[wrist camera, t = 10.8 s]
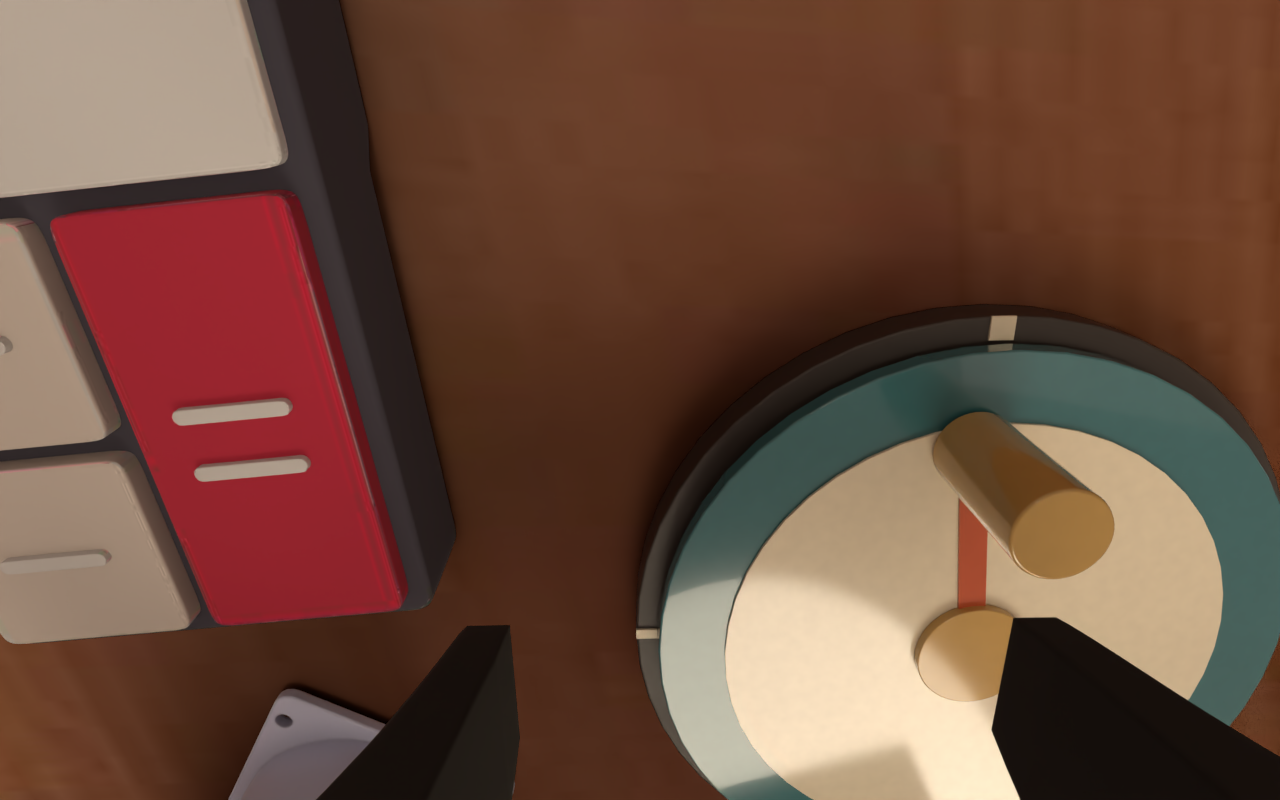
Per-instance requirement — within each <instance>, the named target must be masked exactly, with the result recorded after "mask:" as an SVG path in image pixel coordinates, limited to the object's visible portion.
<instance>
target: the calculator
mask: <svg viewBox="0 0 1280 800" xmlns="http://www.w3.org/2000/svg"><path fill="white" fill-rule="evenodd" d="M455 538H456V530H455V525H454V521H453V516H452V512H451V508H450V504H449V500H448V495H447V491H446V487H445V483H444V479H443V475H442V470H441V466H440V462H439V458H438V454H437V449H436V445H435V441H434V437H433V433H432V429H431V424H430V420H429V416H428V412H427V408H426V403H425V399H424V395H423V391H422V387H421V383H420V378H419V374H418V370H417V366H416V362H415V357H414V353H413V349H412V345H411V341H410V337H409V332H408V328H407V324H406V320H405V316H404V311H403V307H402V303H401V299H400V295H399V290H398V286H397V282H396V278H395V274H394V270H393V265H392V261H391V257H390V253H389V249H388V244H387V240H386V236H385V232H384V228H383V224H382V219H381V215H380V211H379V207H378V203H377V198H376V194H375V190H374V186H373V182H372V177H371V173H370V163H369V137H368V124H367V119H366V115H365V110H364V106H363V101H362V97H361V93H360V89H359V84H358V80H357V76H356V71H355V67H354V63H353V59H352V54H351V50H350V46H349V41H348V37H347V33H346V29H345V24H344V20H343V16H342V12H341V7H340V3H339V0H0V633H1V635H2V636H3V637H4V639H6V640H7V641H8V642H11V643H16V644H26V643H45V642H57V641H68V640H80V639H91V638H102V637H113V636H125V635H136V634H147V633H159V632H170V631H181V630H193V629H204V628H215V627H227V626H238V625H249V624H261V623H272V622H283V621H295V620H306V619H317V618H329V617H340V616H351V615H363V614H374V613H385V612H397V611H408V610H416V609H421V608H424V607H426V606H427V605H429V604H430V602H431V601H432V599H433V596H434V594H435V591H436V589H437V586H438V584H439V581H440V579H441V576H442V573H443V571H444V568H445V566H446V563H447V560H448V558H449V555H450V553H451V550H452V547H453V544H454V541H455Z"/></svg>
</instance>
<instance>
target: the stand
mask: <svg viewBox="0 0 1280 800" xmlns="http://www.w3.org/2000/svg"><path fill="white" fill-rule="evenodd" d="M998 344H1029V345H1048V346H1059V347H1064V348H1070V349H1075V350H1081V351H1086V352H1091V353H1097V354H1101V355H1104V356H1107V357H1110V358H1113V359H1116V360H1119V361H1122V362H1125V363H1128V364H1131V365H1133V366H1136V367H1139V368H1142V369H1144V370H1146V371H1148V372H1150V373H1152V374H1154V375H1156V376H1158V377H1159V378H1161V379H1163V380H1165V381H1167V382H1169V383H1171V384H1173V385H1175V386H1177V387H1179V388H1181V389H1183V390H1185V391H1187V392H1189V393H1190V394H1192V395H1193V396H1194V397H1196V398H1197V399H1198V400H1200V401H1201V402H1202V403H1204V404H1205V405H1206V406H1208V407H1209V408H1210V409H1212V410H1213V411H1215V412H1216V413H1217V414H1219V415H1220V416H1221V417H1222V418H1223V419H1224V420H1225V421H1226V422H1227V423H1228V424H1229V425H1230V426H1231V427H1232V428H1233V429H1234V430H1235V431H1236V432H1237V433H1238V435H1239V436H1240V437H1241V438H1242V439H1243V440H1244V441H1245V442H1246V443H1247V444H1248V446H1249V447H1250V449H1251V450H1252V452H1253V453H1254V455H1255V456H1256V458H1257V459H1258V461H1259V462H1260V464H1261V465H1262V467H1263V468H1264V470H1265V471H1266V473H1267V474H1268V477H1269V479H1270V481H1271V484H1272V486H1273V488H1274V491H1275V493H1276V495H1277V498H1278V500H1279V502H1280V493H1279V489H1278V485H1277V480H1276V477H1275V475H1274V472H1273V470H1272V468H1271V465H1270V463H1269V461H1268V459H1267V456H1266V454H1265V452H1264V449H1263V447H1262V445H1261V443H1260V441H1259V440H1258V438H1257V437H1256V435H1255V434H1254V432H1253V431H1252V430H1251V428H1250V427H1249V425H1248V424H1247V422H1246V421H1245V419H1244V418H1243V416H1242V415H1241V413H1240V412H1239V410H1238V409H1237V408H1236V407H1235V406H1234V405H1233V404H1232V403H1231V402H1230V401H1229V400H1228V399H1227V398H1226V397H1225V396H1224V395H1223V394H1222V393H1221V392H1220V391H1219V390H1218V389H1217V388H1216V387H1215V386H1214V385H1213V384H1212V383H1211V382H1210V381H1209V380H1207V379H1206V378H1204V377H1203V376H1202V375H1200V374H1199V373H1198V372H1196V371H1195V370H1193V369H1192V368H1191V367H1189V366H1188V365H1187V364H1185V363H1184V362H1183V361H1181V360H1180V359H1178V358H1176V357H1174V356H1173V355H1171V354H1169V353H1167V352H1165V351H1163V350H1161V349H1159V348H1157V347H1155V346H1153V345H1151V344H1149V343H1147V342H1145V341H1143V340H1141V339H1139V338H1137V337H1134V336H1132V335H1130V334H1127V333H1125V332H1123V331H1120V330H1118V329H1116V328H1114V327H1111V326H1107V325H1104V324H1101V323H1098V322H1095V321H1092V320H1089V319H1086V318H1083V317H1080V316H1077V315H1074V314H1070V313H1064V312H1058V311H1053V310H1047V309H1042V308H1036V307H1030V306H1012V305H989V304H980V305H968V306H956V307H945V308H935V309H930V310H925V311H921V312H916V313H911V314H906V315H902V316H897V317H892V318H888V319H885V320H882V321H880V322H877V323H874V324H871V325H868V326H865V327H862V328H859V329H856V330H853V331H850V332H847V333H844V334H842V335H840V336H838V337H836V338H834V339H832V340H830V341H828V342H826V343H824V344H822V345H819V346H817V347H815V348H813V349H811V350H809V351H807V352H805V353H803V354H801V355H800V356H798V357H796V358H795V359H793V360H792V361H790V362H789V363H787V364H785V365H784V366H782V367H781V368H779V369H778V370H776V371H774V372H773V373H771V374H770V375H768V376H767V377H765V378H764V379H762V380H761V381H760V382H759V383H758V384H756V385H755V386H754V387H753V388H751V389H750V390H749V391H748V392H747V393H745V394H744V395H743V396H742V397H740V398H739V399H738V400H737V401H736V402H734V403H733V404H732V405H731V406H730V407H729V408H728V409H727V410H726V411H725V412H724V413H723V414H722V415H721V416H720V417H719V418H718V419H717V420H716V421H715V422H714V423H713V425H712V426H711V427H710V428H709V429H708V430H707V431H706V432H705V433H704V434H703V435H702V436H701V437H700V439H699V440H698V441H697V443H696V444H695V445H694V447H693V448H692V450H691V451H690V452H689V454H688V455H687V456H686V458H685V459H684V461H683V462H682V463H681V465H680V466H679V467H678V469H677V470H676V472H675V474H674V476H673V478H672V479H671V481H670V483H669V485H668V487H667V489H666V491H665V492H664V494H663V496H662V498H661V500H660V502H659V504H658V506H657V508H656V511H655V514H654V517H653V519H652V522H651V525H650V528H649V530H648V533H647V536H646V538H645V542H644V547H643V552H642V557H641V562H640V567H639V571H638V582H637V602H636V639H637V644H638V653H639V662H640V667H641V671H642V675H643V678H644V682H645V686H646V689H647V693H648V696H649V699H650V701H651V703H652V705H653V707H654V710H655V712H656V714H657V716H658V718H659V721H660V723H661V725H662V727H663V728H664V730H665V731H666V733H667V734H668V736H669V737H670V739H671V740H672V742H673V744H674V745H675V747H676V748H677V750H678V751H679V753H680V754H681V755H682V756H683V757H684V758H685V760H686V761H687V762H688V763H689V764H690V765H691V766H692V767H693V769H694V770H695V771H696V772H697V773H698V774H699V775H700V776H701V777H702V778H703V779H704V780H705V781H706V782H708V783H709V784H710V785H711V786H712V787H713V788H715V787H714V786H713V785H712V784H711V782H710V781H709V780H708V779H707V778H706V777H705V776H704V774H703V773H702V772H701V771H700V770H699V769H698V767H697V766H696V764H695V763H694V761H693V760H692V758H691V756H690V755H689V753H688V752H687V750H686V748H685V747H684V745H683V744H682V742H681V740H680V738H679V736H678V733H677V731H676V729H675V727H674V724H673V722H672V720H671V717H670V715H669V713H668V709H667V705H666V701H665V697H664V693H663V689H662V685H661V678H660V666H659V654H658V627H659V614H660V604H661V600H662V595H663V591H664V587H665V583H666V578H667V574H668V570H669V568H670V565H671V563H672V560H673V558H674V555H675V553H676V550H677V548H678V545H679V543H680V540H681V538H682V536H683V534H684V532H685V531H686V529H687V527H688V525H689V524H690V522H691V520H692V518H693V517H694V515H695V513H696V511H697V510H698V508H699V506H700V504H701V503H702V502H703V500H704V499H705V498H706V496H707V495H708V494H709V493H710V491H711V490H712V489H713V487H714V486H715V485H716V483H717V482H718V481H719V480H720V478H721V477H722V476H723V474H724V473H725V472H726V471H727V470H728V469H729V468H730V467H731V466H732V465H733V464H734V463H735V462H736V461H737V460H738V459H739V458H740V457H741V456H742V455H743V454H744V453H745V452H746V451H747V450H748V449H749V448H750V447H751V446H752V445H753V444H754V443H755V442H756V441H757V440H758V439H759V438H760V437H762V436H763V435H764V434H766V433H767V432H768V431H769V430H771V429H772V428H773V427H775V426H776V425H777V424H778V423H780V422H781V421H782V420H783V419H785V418H786V417H787V416H789V415H790V414H791V413H793V412H795V411H796V410H798V409H799V408H801V407H803V406H804V405H806V404H808V403H809V402H811V401H813V400H814V399H816V398H818V397H819V396H821V395H823V394H824V393H826V392H827V391H829V390H831V389H833V388H835V387H838V386H840V385H842V384H844V383H846V382H849V381H851V380H853V379H855V378H857V377H860V376H862V375H864V374H866V373H868V372H870V371H873V370H876V369H879V368H882V367H885V366H888V365H891V364H895V363H898V362H901V361H904V360H907V359H910V358H913V357H916V356H921V355H926V354H931V353H936V352H941V351H946V350H951V349H956V348H961V347H971V346H984V345H998ZM715 789H716V788H715ZM716 790H717V789H716ZM719 793H720V792H719Z"/></svg>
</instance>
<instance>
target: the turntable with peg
mask: <svg viewBox="0 0 1280 800" xmlns="http://www.w3.org/2000/svg"><path fill="white" fill-rule="evenodd" d="M1033 617H1057V618H1059V619H1060V620H1062V621H1064V622H1066V623H1067V624H1069V625H1071V626H1073V627H1074V628H1076V629H1078V630H1079V631H1081V632H1082V633H1084V634H1086V635H1087V636H1089V637H1091V638H1092V639H1094V640H1095V641H1097V642H1098V643H1100V644H1102V645H1103V646H1105V647H1106V648H1108V649H1109V650H1111V651H1113V652H1114V653H1116V654H1117V655H1119V656H1120V657H1122V658H1123V659H1125V660H1126V661H1128V662H1129V663H1131V664H1133V665H1134V666H1136V667H1137V668H1139V669H1140V670H1142V671H1143V672H1145V673H1146V674H1148V675H1149V676H1151V677H1153V678H1154V679H1156V680H1157V681H1159V682H1160V683H1162V684H1163V685H1165V686H1166V687H1168V688H1170V689H1171V690H1173V691H1174V692H1176V693H1177V694H1179V695H1180V696H1182V697H1184V698H1185V699H1187V700H1188V701H1190V702H1191V703H1193V704H1195V705H1196V706H1198V707H1199V708H1201V709H1202V710H1204V711H1206V712H1207V713H1209V714H1210V715H1212V716H1214V717H1215V718H1217V719H1218V720H1220V721H1222V722H1223V723H1225V724H1226V725H1228V726H1230V725H1231V724H1232V722H1233V721H1234V720H1235V719H1236V717H1237V716H1238V715H1239V713H1240V712H1241V711H1242V710H1243V708H1244V707H1245V705H1246V704H1247V702H1248V700H1249V699H1250V697H1251V695H1252V694H1253V692H1254V690H1255V689H1256V687H1257V685H1258V684H1259V682H1260V680H1261V679H1262V677H1263V675H1264V673H1265V671H1266V668H1267V666H1268V664H1269V662H1270V659H1271V657H1272V655H1273V652H1274V650H1275V648H1276V646H1277V643H1278V640H1279V636H1280V502H1279V500H1278V498H1277V495H1276V493H1275V491H1274V488H1273V486H1272V484H1271V481H1270V479H1269V477H1268V474H1267V473H1266V471H1265V470H1264V468H1263V467H1262V465H1261V464H1260V462H1259V461H1258V459H1257V458H1256V456H1255V455H1254V453H1253V452H1252V450H1251V449H1250V447H1249V446H1248V444H1247V443H1246V442H1245V441H1244V440H1243V439H1242V438H1241V437H1240V436H1239V435H1238V433H1237V432H1236V431H1235V430H1234V429H1233V428H1232V427H1231V426H1230V425H1229V424H1228V423H1227V422H1226V421H1225V420H1224V419H1223V418H1222V417H1221V416H1220V415H1219V414H1217V413H1216V412H1215V411H1213V410H1212V409H1210V408H1209V407H1208V406H1206V405H1205V404H1204V403H1202V402H1201V401H1200V400H1198V399H1197V398H1196V397H1194V396H1193V395H1192V394H1190V393H1189V392H1187V391H1185V390H1183V389H1181V388H1179V387H1177V386H1175V385H1173V384H1171V383H1169V382H1167V381H1165V380H1163V379H1161V378H1159V377H1158V376H1156V375H1154V374H1152V373H1150V372H1148V371H1146V370H1144V369H1142V368H1139V367H1136V366H1133V365H1131V364H1128V363H1125V362H1122V361H1119V360H1116V359H1113V358H1110V357H1107V356H1104V355H1101V354H1097V353H1091V352H1086V351H1081V350H1075V349H1070V348H1064V347H1059V346H1048V345H1029V344H998V345H984V346H971V347H961V348H956V349H951V350H946V351H941V352H936V353H931V354H926V355H921V356H916V357H913V358H910V359H907V360H904V361H901V362H898V363H895V364H891V365H888V366H885V367H882V368H879V369H876V370H873V371H870V372H868V373H866V374H864V375H862V376H860V377H857V378H855V379H853V380H851V381H849V382H846V383H844V384H842V385H840V386H838V387H835V388H833V389H831V390H829V391H827V392H826V393H824V394H823V395H821V396H819V397H818V398H816V399H814V400H813V401H811V402H809V403H808V404H806V405H804V406H803V407H801V408H799V409H798V410H796V411H795V412H793V413H791V414H790V415H789V416H787V417H786V418H785V419H783V420H782V421H781V422H780V423H778V424H777V425H776V426H775V427H773V428H772V429H771V430H769V431H768V432H767V433H766V434H764V435H763V436H762V437H760V438H759V439H758V440H757V441H756V442H755V443H754V444H753V445H752V446H751V447H750V448H749V449H748V450H747V451H746V452H745V453H744V454H743V455H742V456H741V457H740V458H739V459H738V460H737V461H736V462H735V463H734V464H733V465H732V466H731V467H730V468H729V469H728V470H727V471H726V472H725V473H724V474H723V476H722V477H721V478H720V480H719V481H718V482H717V483H716V485H715V486H714V487H713V489H712V490H711V491H710V493H709V494H708V495H707V496H706V498H705V499H704V500H703V502H702V503H701V504H700V506H699V508H698V510H697V511H696V513H695V515H694V517H693V518H692V520H691V522H690V524H689V525H688V527H687V529H686V531H685V532H684V534H683V536H682V538H681V540H680V543H679V545H678V548H677V550H676V553H675V555H674V558H673V560H672V563H671V565H670V568H669V570H668V574H667V578H666V583H665V587H664V591H663V595H662V600H661V604H660V614H659V627H658V654H659V666H660V678H661V685H662V689H663V693H664V697H665V701H666V705H667V709H668V713H669V715H670V717H671V720H672V722H673V724H674V727H675V729H676V731H677V733H678V736H679V738H680V740H681V742H682V744H683V745H684V747H685V748H686V750H687V752H688V753H689V755H690V756H691V758H692V760H693V761H694V763H695V764H696V766H697V767H698V769H699V770H700V771H701V772H702V773H703V774H704V776H705V777H706V778H707V779H708V780H709V781H710V782H711V784H712V785H713V786H714V787H715V788H716V789H717V791H718V792H720V793H721V794H722V795H723V796H724V797H725V798H727V799H728V800H1020V798H1019V796H1018V793H1017V791H1016V789H1015V786H1014V784H1013V782H1012V780H1011V777H1010V775H1009V773H1008V770H1007V768H1006V766H1005V763H1004V761H1003V758H1002V756H1001V753H1000V751H999V748H998V746H997V743H996V741H995V738H994V736H993V733H992V731H991V729H992V724H993V719H994V713H995V708H996V703H997V698H998V693H999V688H1000V683H1001V678H1002V673H1003V668H1004V663H1005V658H1006V652H1007V647H1008V642H1009V637H1010V632H1011V627H1012V622H1013V618H1033Z"/></svg>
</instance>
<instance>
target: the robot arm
mask: <svg viewBox="0 0 1280 800" xmlns="http://www.w3.org/2000/svg"><path fill="white" fill-rule="evenodd" d="M283 714H284V715H287V716H289V717H291V718H288V717H285V716H284V715H283ZM991 731H992V733H993V736H994V738H995V741H996V743H997V746H998V748H999V751H1000V753H1001V756H1002V758H1003V761H1004V763H1005V766H1006V768H1007V770H1008V773H1009V775H1010V777H1011V780H1012V782H1013V784H1014V786H1015V789H1016V791H1017V793H1018V796H1019V798H1020V800H1280V757H1279V756H1278V755H1276V754H1274V753H1273V752H1271V751H1269V750H1267V749H1266V748H1264V747H1262V746H1261V745H1259V744H1257V743H1256V742H1254V741H1252V740H1251V739H1249V738H1248V737H1246V736H1244V735H1243V734H1241V733H1239V732H1238V731H1236V730H1234V729H1233V728H1231V727H1230V726H1228V725H1226V724H1225V723H1223V722H1222V721H1220V720H1218V719H1217V718H1215V717H1214V716H1212V715H1210V714H1209V713H1207V712H1206V711H1204V710H1202V709H1201V708H1199V707H1198V706H1196V705H1195V704H1193V703H1191V702H1190V701H1188V700H1187V699H1185V698H1184V697H1182V696H1180V695H1179V694H1177V693H1176V692H1174V691H1173V690H1171V689H1170V688H1168V687H1166V686H1165V685H1163V684H1162V683H1160V682H1159V681H1157V680H1156V679H1154V678H1153V677H1151V676H1149V675H1148V674H1146V673H1145V672H1143V671H1142V670H1140V669H1139V668H1137V667H1136V666H1134V665H1133V664H1131V663H1129V662H1128V661H1126V660H1125V659H1123V658H1122V657H1120V656H1119V655H1117V654H1116V653H1114V652H1113V651H1111V650H1109V649H1108V648H1106V647H1105V646H1103V645H1102V644H1100V643H1098V642H1097V641H1095V640H1094V639H1092V638H1091V637H1089V636H1087V635H1086V634H1084V633H1082V632H1081V631H1079V630H1078V629H1076V628H1074V627H1073V626H1071V625H1069V624H1067V623H1066V622H1064V621H1062V620H1060V619H1059V618H1057V617H1033V618H1013V622H1012V627H1011V632H1010V637H1009V642H1008V647H1007V652H1006V658H1005V663H1004V668H1003V673H1002V678H1001V683H1000V688H999V693H998V698H997V703H996V708H995V713H994V719H993V724H992V729H991ZM519 739H520V734H519V723H518V712H517V701H516V690H515V679H514V668H513V657H512V646H511V635H510V625H496V626H467V627H466V628H465V629H464V630H462V631H461V632H460V633H459V635H458V636H457V637H456V639H455V640H454V641H453V643H452V644H451V645H450V646H449V648H448V649H447V650H446V652H445V653H444V654H443V656H442V657H441V658H440V659H439V661H438V662H437V663H436V664H435V666H434V667H433V668H432V670H431V671H430V672H429V673H428V675H427V676H426V677H425V678H424V680H423V681H422V682H421V683H420V684H419V686H418V687H417V688H416V689H415V691H414V692H413V693H412V694H411V696H410V697H409V698H408V699H407V700H406V701H405V703H404V704H403V705H402V706H401V707H400V708H399V710H398V711H397V712H396V713H395V714H394V715H393V717H392V718H391V719H390V720H389V721H388V722H387V724H383V723H381V722H378V721H376V720H373V719H371V718H368V717H366V716H363V715H361V714H358V713H356V712H353V711H351V710H348V709H346V708H343V707H341V706H338V705H336V704H333V703H331V702H328V701H326V700H323V699H321V698H318V697H316V696H313V695H311V694H308V693H306V692H303V691H301V690H297V689H286V690H284V691H282V692H281V693H280V694H279V696H278V697H277V699H276V701H275V702H274V704H273V706H272V708H271V710H270V713H269V715H268V717H267V719H266V721H265V723H264V725H263V727H262V729H261V732H260V734H259V736H258V738H257V740H256V742H255V744H254V746H253V748H252V751H251V753H250V755H249V757H248V759H247V761H246V763H245V765H244V767H243V770H242V772H241V774H240V776H239V778H238V780H237V782H236V784H235V786H234V789H233V791H232V793H231V795H230V797H229V799H228V800H512V795H513V792H514V786H515V782H514V780H515V772H516V764H517V756H518V747H519Z"/></svg>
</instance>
